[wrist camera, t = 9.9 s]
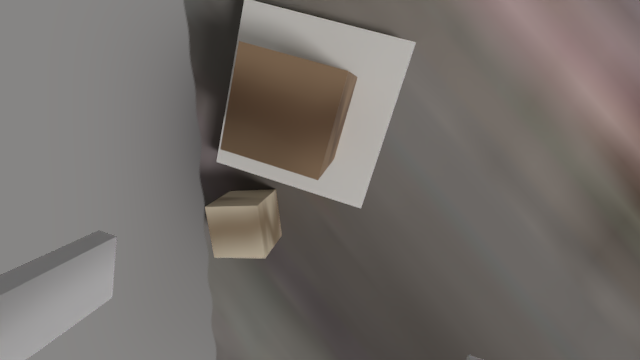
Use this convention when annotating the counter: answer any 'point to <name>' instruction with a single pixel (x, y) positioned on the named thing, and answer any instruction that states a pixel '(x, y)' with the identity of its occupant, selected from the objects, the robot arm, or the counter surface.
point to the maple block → (244, 224)
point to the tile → (366, 103)
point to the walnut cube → (286, 110)
